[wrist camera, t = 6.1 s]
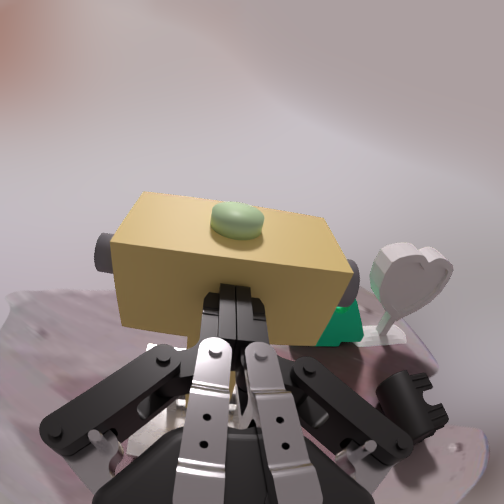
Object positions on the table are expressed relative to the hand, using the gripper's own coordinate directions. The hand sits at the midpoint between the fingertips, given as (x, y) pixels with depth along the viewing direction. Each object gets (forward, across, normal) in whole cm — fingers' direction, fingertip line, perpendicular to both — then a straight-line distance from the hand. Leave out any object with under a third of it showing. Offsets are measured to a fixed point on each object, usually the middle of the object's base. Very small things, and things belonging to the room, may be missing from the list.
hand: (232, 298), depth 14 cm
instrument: (+4, 0, -17) cm, 18 cm away
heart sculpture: (+19, +30, -22) cm, 42 cm away
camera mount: (+20, +18, -22) cm, 35 cm away
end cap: (+1, +26, -22) cm, 34 cm away
